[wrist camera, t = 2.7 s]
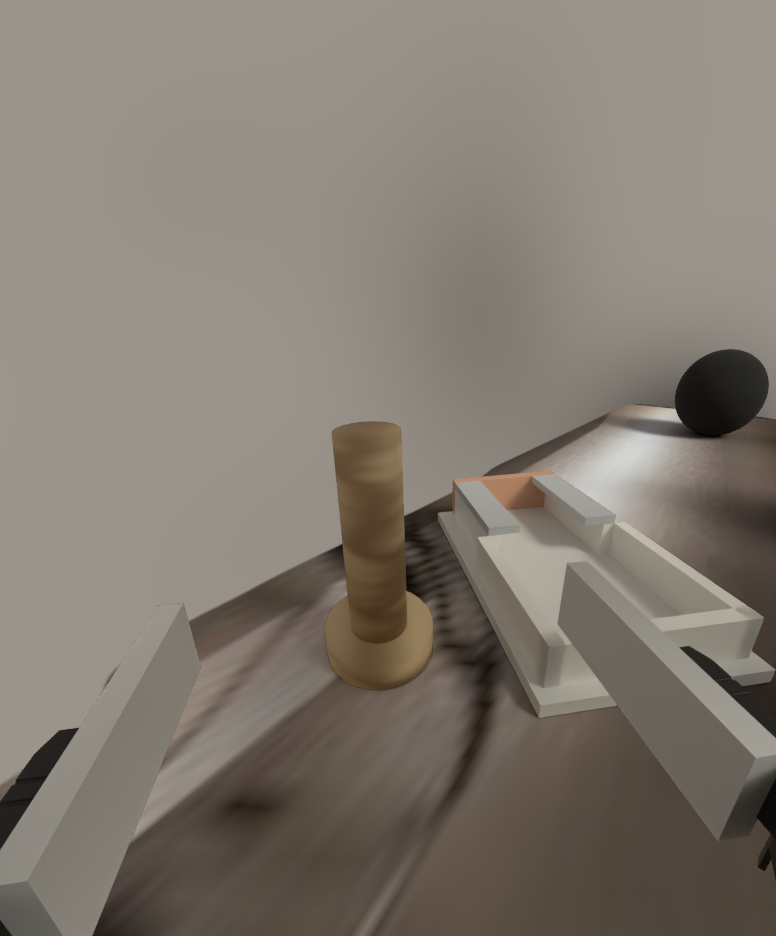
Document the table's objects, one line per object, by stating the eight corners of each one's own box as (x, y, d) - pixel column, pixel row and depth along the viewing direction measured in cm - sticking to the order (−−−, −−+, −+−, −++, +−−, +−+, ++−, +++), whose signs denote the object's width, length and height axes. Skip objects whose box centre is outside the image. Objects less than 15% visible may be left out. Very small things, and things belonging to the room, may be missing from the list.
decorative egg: (654, 433, 72) (671, 351, 67) (685, 422, 78) (704, 346, 73) (736, 448, 62) (764, 353, 57) (764, 435, 68) (793, 347, 63)
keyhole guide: (559, 508, 46) (564, 469, 44) (770, 682, 23) (797, 617, 22) (437, 520, 44) (438, 480, 43) (538, 717, 22) (548, 651, 20)
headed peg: (421, 601, 32) (418, 411, 26) (444, 681, 25) (448, 443, 19) (328, 612, 31) (305, 419, 25) (326, 698, 24) (292, 456, 18)
